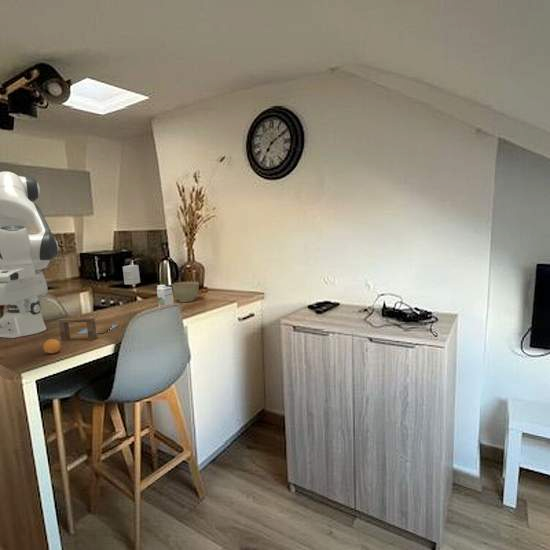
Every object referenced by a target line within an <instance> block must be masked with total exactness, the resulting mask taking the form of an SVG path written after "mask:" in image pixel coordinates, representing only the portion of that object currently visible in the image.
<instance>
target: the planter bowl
mask: <svg viewBox="0 0 550 550" xmlns="http://www.w3.org/2000/svg"><path fill="white" fill-rule="evenodd" d="M199 286H200V282H198V281H180V282H174V283H172V284H171V287H172V293H173V294H174V296H175V297H176V298H177V300H178V302H180V303H190V302H193V301H195V300H196V296H197V295H198V292H199V288H200V287H199Z"/></svg>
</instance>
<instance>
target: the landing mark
mask: <svg viewBox="0 0 550 550" xmlns="http://www.w3.org/2000/svg"><path fill="white" fill-rule="evenodd" d="M111 325H112V328H110V331H111V330H114V329H115V328H117V327H118V325H119V324H111ZM116 326H117V327H116ZM108 332H109V330H108ZM87 333H88V331H87V328H85V329H83V330H81V331H79V332H77V333H76V335H88V334H87Z"/></svg>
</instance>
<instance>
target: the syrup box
mask: <svg viewBox="0 0 550 550" xmlns="http://www.w3.org/2000/svg"><path fill="white" fill-rule="evenodd" d="M156 293H157V302H158V308H159V307H160V306H165V305H169V304H173V305H174V298H173V296H174V295H173V287H172V286H167V285H166V286H163V287H159V288H157V287H156Z"/></svg>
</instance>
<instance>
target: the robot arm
mask: <svg viewBox="0 0 550 550" xmlns="http://www.w3.org/2000/svg"><path fill="white" fill-rule="evenodd" d="M40 193H41V187H40V184H39V183H38V182H37V180H36V178H34V177H32V176H22V175H17V173H14V172H12V171H0V306H4V307H5V308H4V309H5V310H6V309H7V310H6V313H5V314H4V315H3V316H1V317H0V338H7V339H15V338H16V339H17V338H19V337H20V338H21V337H26V336H30V335H35V334H39V333H42V332H44V331H46V330H47V329H48V328H47V327H46V324H45V321H44V319H43V316H42V312H41V307H42V306H41V301H40V300H39V296H42V295H45V294H46V295H47V294H48V289H49V288H48V284H47V281H46V277H45V275H44V272H43V271H41V270H42V269H46V268H47V267H48V266H49V264H50V261H52V260H53V259H54V258H56V256H58V255H59V254H58V253H59V244H58V241H57V240H56V238H55V236H54V234H53V233H52V231H51V229H50V227H49V225H48V222H47V221H46V218H45V216H44V214H43V212H42V210H41V208H40V207H39V205H38V204H37V203H35V201H36V200H38V199H39V196H40ZM29 223H30V224H32V225H34V228H35V229H36V232H37V233H33V234H31V231H30V227H29V226H30V225H29Z"/></svg>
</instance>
